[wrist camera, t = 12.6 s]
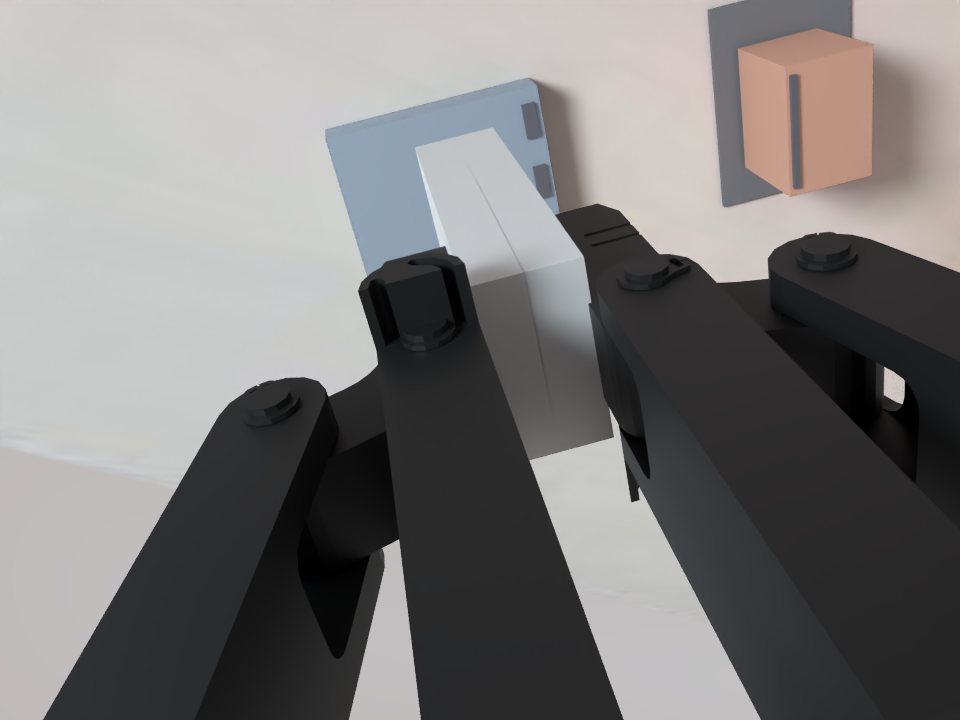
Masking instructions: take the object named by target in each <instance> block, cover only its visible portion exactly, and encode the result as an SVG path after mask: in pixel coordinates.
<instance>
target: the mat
mask: <svg viewBox="0 0 960 720" xmlns="http://www.w3.org/2000/svg"><path fill="white" fill-rule="evenodd" d="M708 21H709V33H710V46H711V59H712V72H713V85H714V98H715V111H716V124H717V137H718V150H719V163H720V176H721V189H722V202H723V206H724V207H727V206H730V205H734V204H738V203H742V202H746V201H749V200H753V199H757V198H761V197H765V196H768V195H772V194H776V193H780V192H782V191H780V190H779V189H777V188H776V187H774V186H773V185H771V184H770V183H768V182H767V181H765V180H764V179H762V178H761V177H759V176H758V175H756V174H755V173H753V172H752V171H750V170H749V169H747V168H746V167H745V155H744V139H743V123H742V107H741V91H740V75H739V59H738V48H742V47H746V46H750V45H754V44H757V43H761V42H765V41H769V40H773V39H777V38H781V37H785V36H789V35H792V34H796V33H800V32H804V31H808V30H812V29H816V28H818V29H821V30H825V31H828V32H832V33H835V34H839V35H842V36H846V37H849V38H850V0H744V1H741V2H737V3H733V4H729V5H725V6H721V7H717V8H713V9H709V10H708Z"/></svg>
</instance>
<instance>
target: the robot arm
mask: <svg viewBox="0 0 960 720" xmlns="http://www.w3.org/2000/svg"><path fill="white" fill-rule="evenodd" d="M415 150H416V154H417V158H418V162H419V166H420V170H421V174H422V178H423V182H424V185H425V189H426V193H427V197H428V201H429V205H430V209H431V213H432V217H433V221H434V225H435V229H436V233H437V237H438V241H439V245H440V247H439V248H435V249H432V250H428V251H424V252H420V253H416V254H413V255H409V256H405V257H401V258H397V259H393V260H390V261H386V262H385V263H384V264H383V265H382V267H381V268H379V269H377V270H375V271H373V272H372V273H371V274H370V275H368V276H367V277H366V278H365V279H364V280H363V281H362V282H361V285H360V287H359V290H358V293H359V296H360V299H361V302H362V305H363V309H364V312H365V315H366V318H367V321H368V324H369V328H370V331H371V334H372V337H373V340H374V344H375V347H376V350H377V358H378V365H377V366H376V367H375V369H374V370H373V371H372V372H371V373H370V374H369V375H367V376H366V377H364V378H363V379H362V380H360V381H359V382H357V383H356V384H354V385H352V386H350V387H348V388H346V389H344V390H342V391H340V392H338V393H336V394H333V395H331V396H329V397H328V395H327V392H326V389H325V388H324V387H323V386H322V385H321V384H320V383H319V381H316V380H312V379H309V378H305V377H301V378H284V379H280V380H276V381H267V382H264V383H261V384H259V385H260V386H258V387H257V385H256V386H254V387H252V388H250V389H248V390H247V391H246V392H245V393H244V394H242V395H241V396H239V397H238V398H236V399H235V400H234V401H232V402H231V403H229V405H228V406H227V407H226V408H225V409H224V410H223V412H222V413H221V414H220V415H219V417H218V418H217V420H216V422H215V423H214V425H213V427H212V429H211V430H210V432H209V434H208V436H207V437H206V439H205V441H204V442H203V444H202V446H201V448H200V449H199V451H198V453H197V455H196V456H195V458H194V460H193V461H192V463H191V465H190V467H189V468H188V470H187V472H186V474H185V475H184V477H183V479H182V481H181V482H180V484H179V486H178V487H177V489H176V491H175V493H174V495H173V496H172V498H171V500H170V501H169V503H168V505H167V506H166V508H165V510H164V512H163V513H162V515H161V517H160V519H159V520H158V522H157V524H156V526H155V527H154V529H153V531H152V532H151V534H150V536H149V538H148V539H147V541H146V543H145V544H144V546H143V548H142V550H141V551H140V553H139V555H138V557H137V558H136V560H135V562H134V563H133V565H132V567H131V569H130V570H129V572H128V574H127V576H126V577H125V579H124V581H123V583H122V584H121V586H120V588H119V590H118V591H117V593H116V595H115V596H114V598H113V600H112V601H111V603H110V605H109V607H108V609H107V610H106V612H105V614H104V615H103V617H102V619H101V620H100V622H99V624H98V626H97V627H96V629H95V631H94V633H93V634H92V636H91V638H90V640H89V641H88V643H87V645H86V647H85V648H84V650H83V652H82V653H81V655H80V657H79V659H78V660H77V662H76V664H75V665H74V667H73V669H72V671H71V673H70V674H69V676H68V678H67V680H66V681H65V683H64V684H63V686H62V688H61V690H60V692H59V693H58V695H57V697H56V698H55V700H54V702H53V704H52V705H51V707H50V709H49V710H48V712H47V714H46V716H45V717H44V719H43V720H349V716H350V712H351V708H352V704H353V699H354V695H355V691H356V687H357V682H358V678H359V674H360V670H361V665H362V661H363V657H364V653H365V648H366V644H367V639H368V635H369V631H370V627H371V623H372V619H373V615H374V610H375V606H376V602H377V598H378V593H379V589H380V585H381V581H382V576H383V572H384V568H385V564H384V552H383V549H382V548H383V547H385V546H387V545H389V544H391V543H393V542H395V541H396V540H398V539H399V541H400V549H401V557H402V566H403V573H404V582H405V590H406V599H407V607H408V614H409V624H410V632H411V640H412V649H413V656H414V665H415V673H416V682H417V690H418V698H419V707H420V715H421V720H623V717H622V714H621V711H620V709H619V706H618V703H617V700H616V698H615V695H614V692H613V690H612V687H611V684H610V681H609V678H608V676H607V673H606V670H605V667H604V665H603V662H602V659H601V656H600V654H599V651H598V648H597V646H596V643H595V640H594V637H593V635H592V632H591V629H590V626H589V623H588V621H587V618H586V615H585V612H584V610H583V607H582V604H581V601H580V599H579V596H578V593H577V590H576V588H575V585H574V582H573V579H572V577H571V574H570V571H569V568H568V566H567V563H566V560H565V557H564V555H563V552H562V549H561V546H560V544H559V541H558V538H557V536H556V533H555V530H554V527H553V525H552V522H551V519H550V516H549V514H548V511H547V508H546V505H545V503H544V500H543V497H542V494H541V492H540V489H539V486H538V483H537V481H536V478H535V475H534V472H533V470H532V467H531V464H530V461H529V460H532V459H536V458H539V457H543V456H547V455H550V454H554V453H558V452H561V451H565V450H569V449H572V448H576V447H580V446H583V445H587V444H591V443H595V442H598V441H602V440H606V439H609V438H613V437H614V435H613V429H612V423H611V417H610V411H609V407H610V409H611V411H612V413H613V415H614V417H615V418H616V420H617V422H618V424H619V429H620V435H621V441H622V448H623V454H624V460H625V466H626V472H627V479H628V485H629V491H630V497H631V502H634V501H638V500H639V492H638V488H639V487H640V489H641V491H642V492H643V494H644V496H645V498H646V500H647V502H648V504H649V506H650V508H651V510H652V512H653V514H654V515H655V517H656V519H657V521H658V523H659V525H660V527H661V529H662V531H663V533H664V535H665V537H666V538H667V540H668V542H669V544H670V546H671V548H672V550H673V552H674V554H675V556H676V558H677V560H678V561H679V563H680V565H681V567H682V569H683V571H684V573H685V575H686V577H687V579H688V581H689V583H690V584H691V586H692V588H693V590H694V592H695V594H696V596H697V598H698V600H699V602H700V604H701V606H702V607H703V609H704V611H705V613H706V615H707V617H708V619H709V621H710V623H711V625H712V627H713V628H714V630H715V632H716V634H717V636H718V638H719V640H720V642H721V644H722V646H723V648H724V649H725V651H726V653H727V655H728V657H729V659H730V661H731V663H732V665H733V667H734V669H735V671H736V673H737V675H738V676H739V678H740V680H741V682H742V684H743V686H744V688H745V690H746V692H747V694H748V695H749V698H750V699H751V701H752V703H753V705H754V707H755V709H756V711H757V713H758V715H759V717H760V719H761V720H960V273H959V272H957V271H954V270H951V269H949V268H946V267H943V266H941V265H938V264H935V263H933V262H930V261H927V260H925V259H922V258H919V257H916V256H914V255H911V254H908V253H906V252H903V251H900V250H898V249H895V248H892V247H890V246H887V245H884V244H882V243H879V242H876V241H874V240H871V239H867V238H863V237H859V236H855V235H847V234H835V233H833V232H824V233H819V235H817V233H815V234H809V235H805V236H804V237H803V238H799V239H796V240H792V241H789V242H787V243H785V244H783V245H781V246H780V247H778V248H776V249H774V251H773V252H772V254H771V255H770V256H769V258H768V273H769V279H762V280H752V281H742V282H728V283H716V281H715V280H714V279H713V278H712V277H711V276H710V275H709V274H708V273H707V272H706V271H705V270H704V269H703V268H702V267H701V266H700V265H699V264H697V263H696V262H694V261H692V260H691V259H689V258H687V257H682V256H677V255H672V254H658V253H657V252H656V251H655V249H654V248H653V247H652V246H651V245H650V244H649V243H648V242H647V241H646V240H645V238H644V237H643V236H642V235H639V232H638V231H637V230H636V229H635V228H634V226H633V225H630V222H629V221H628V220H627V219H626V218H625V217H624V215H623V214H622V213H621V212H620V211H618V210H615V209H612V208H609V207H606V206H603V205H600V204H594V205H590V206H586V207H583V208H579V209H575V210H571V211H567V212H563V213H560V214H556V215H554V214H553V212H552V211H551V209H550V208H549V206H548V205H547V204H546V202H545V201H544V199H543V198H542V197H541V195H540V194H539V192H538V191H537V189H536V188H535V187H534V185H533V184H532V182H531V181H530V179H529V178H528V177H527V175H526V174H525V172H524V171H523V170H522V168H521V167H520V165H519V164H518V162H517V161H516V160H515V158H514V157H513V155H512V154H511V152H510V151H509V150H508V148H507V147H506V145H505V144H504V143H503V141H502V140H501V138H500V137H499V135H498V134H497V133H496V131H495V130H494V128H493V127H492V128H488V129H484V130H480V131H477V132H473V133H469V134H465V135H461V136H457V137H453V138H449V139H446V140H442V141H438V142H434V143H430V144H426V145H422V146H418V147H415ZM884 367H886V368H888V369H890V370H892V371H894V372H895V373H896V374H898V375H899V376H900V377H902V378H903V379H904V380H905V397H904V401H903V404H900V403H897V402H895V401H893V400H891V399H890V398H888V397H886V396H884Z"/></svg>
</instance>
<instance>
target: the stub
mask: <svg viewBox="0 0 960 720" xmlns="http://www.w3.org/2000/svg"><path fill="white" fill-rule="evenodd" d="M738 59H739V75H740V91H741V107H742V123H743V139H744V155H745V167H746V168H747V169H749V170H750V171H752V172H753V173H755V174H756V175H758V176H759V177H761V178H762V179H764V180H765V181H767V182H768V183H770V184H771V185H773V186H774V187H776V188H777V189H779V190H780V191H782V192H783V193H785V194H786V195H788V196H789V197H792V196H796V195H799V194H803V193H807V192H811V191H815V190H818V189H822V188H826V187H830V186H834V185H837V184H841V183H845V182H849V181H853V180H856V179H860V178H864V177H868V176H872V106H873V44H870V43H867V42H863V41H860V40H856V39H853V38H849V37H846V36H842V35H839V34H835V33H832V32H828V31H825V30H821V29H818V28H816V29H812V30H808V31H804V32H800V33H796V34H792V35H789V36H785V37H781V38H777V39H773V40H769V41H765V42H761V43H757V44H754V45H750V46H746V47H742V48H738Z"/></svg>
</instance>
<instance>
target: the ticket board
mask: <svg viewBox="0 0 960 720" xmlns="http://www.w3.org/2000/svg"><path fill="white" fill-rule="evenodd" d="M492 127H493V128H494V130H495V131H496V133H497V134H498V135H499V137H500V138H501V140H502V141H503V143H504V144H505V145H506V147H507V148H508V150H509V151H510V152H511V154H512V155H513V157H514V158H515V160H516V161H517V162H518V164H519V165H520V167H521V168H522V170H523V171H524V172H525V174H526V175H527V177H528V178H529V179H530V181H531V182H532V184H533V185H534V187H535V188H536V189H537V191H538V192H539V194H540V195H541V197H542V198H543V199H544V201H545V202H546V204H547V205H548V206H549V208H550V209H551V211H552V212H553V214H554V215H556V214H560V213H559V207H558V202H557V196H556V190H555V185H554V179H553V173H552V168H551V162H550V156H549V151H548V145H547V139H546V134H545V128H544V122H543V117H542V111H541V105H540V100H539V94H538V88H537V85H536V84H535V83H534V82H533V81H532V80H531V79H530V78H526V79H522V80H518V81H514V82H510V83H506V84H502V85H499V86H495V87H491V88H487V89H483V90H479V91H475V92H471V93H467V94H463V95H459V96H456V97H452V98H448V99H444V100H440V101H436V102H432V103H428V104H424V105H420V106H416V107H413V108H409V109H405V110H401V111H397V112H393V113H389V114H385V115H381V116H377V117H373V118H370V119H366V120H362V121H358V122H354V123H350V124H346V125H342V126H338V127H334V128H330V129H327V130H325V137H326V143H327V146H328V149H329V152H330V156H331V159H332V162H333V166H334V169H335V172H336V175H337V179H338V182H339V185H340V189H341V192H342V195H343V198H344V202H345V205H346V208H347V212H348V215H349V218H350V221H351V225H352V228H353V231H354V235H355V238H356V241H357V244H358V248H359V251H360V254H361V258H362V261H363V264H364V267H365V271H366V274H367V276H368V275H370V274H371V273H372V272H373V271H375V270H377V269H379V268H381V267H382V265H383V264H384V263H385V262H386V261H390V260H393V259H397V258H401V257H405V256H409V255H413V254H416V253H420V252H424V251H428V250H432V249H435V248H439V247H440V245H439V241H438V237H437V233H436V229H435V225H434V221H433V217H432V213H431V209H430V205H429V201H428V197H427V193H426V189H425V185H424V182H423V178H422V174H421V170H420V166H419V162H418V158H417V154H416V150H415V147H418V146H422V145H426V144H430V143H434V142H438V141H442V140H446V139H449V138H453V137H457V136H461V135H465V134H469V133H473V132H477V131H480V130H484V129H488V128H492Z"/></svg>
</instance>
